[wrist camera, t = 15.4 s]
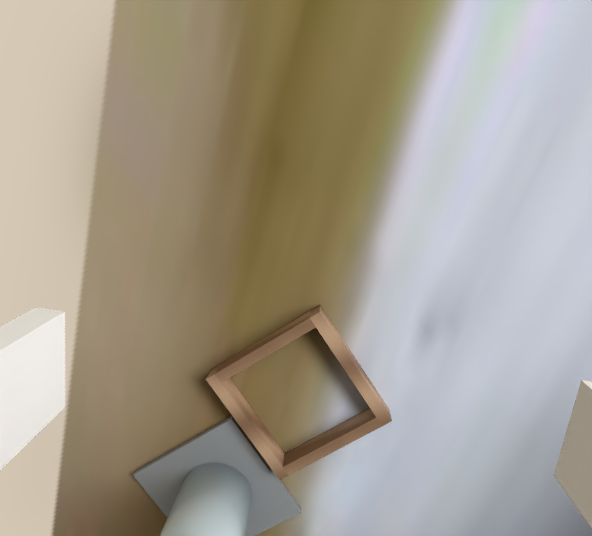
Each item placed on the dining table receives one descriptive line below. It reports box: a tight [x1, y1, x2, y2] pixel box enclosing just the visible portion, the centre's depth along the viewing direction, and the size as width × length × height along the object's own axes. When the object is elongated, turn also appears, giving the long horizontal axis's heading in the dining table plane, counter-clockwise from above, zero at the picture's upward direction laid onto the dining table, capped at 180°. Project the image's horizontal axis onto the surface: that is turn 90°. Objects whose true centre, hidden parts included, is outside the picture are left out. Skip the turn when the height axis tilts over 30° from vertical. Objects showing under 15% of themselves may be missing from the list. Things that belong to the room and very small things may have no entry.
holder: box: [206, 305, 392, 480], centre depth 42 cm, size 12×12×2 cm
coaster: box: [133, 416, 301, 536], centre depth 46 cm, size 12×12×1 cm
